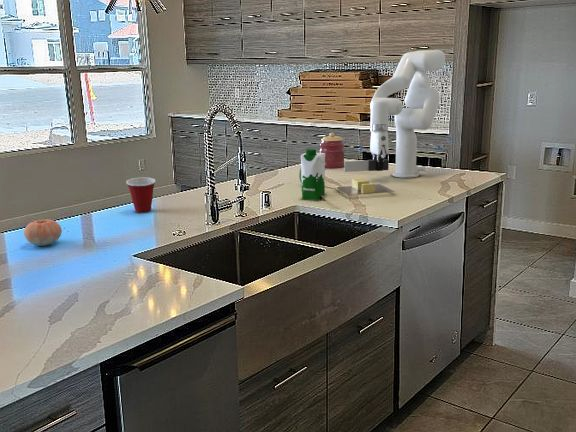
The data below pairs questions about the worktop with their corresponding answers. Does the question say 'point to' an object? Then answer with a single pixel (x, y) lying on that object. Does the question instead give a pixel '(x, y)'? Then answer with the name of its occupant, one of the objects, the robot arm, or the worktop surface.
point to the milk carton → (313, 175)
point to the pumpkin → (42, 232)
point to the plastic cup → (141, 193)
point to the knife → (364, 165)
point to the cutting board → (352, 191)
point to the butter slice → (368, 188)
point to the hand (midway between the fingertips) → (378, 169)
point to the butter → (359, 183)
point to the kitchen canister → (333, 151)
